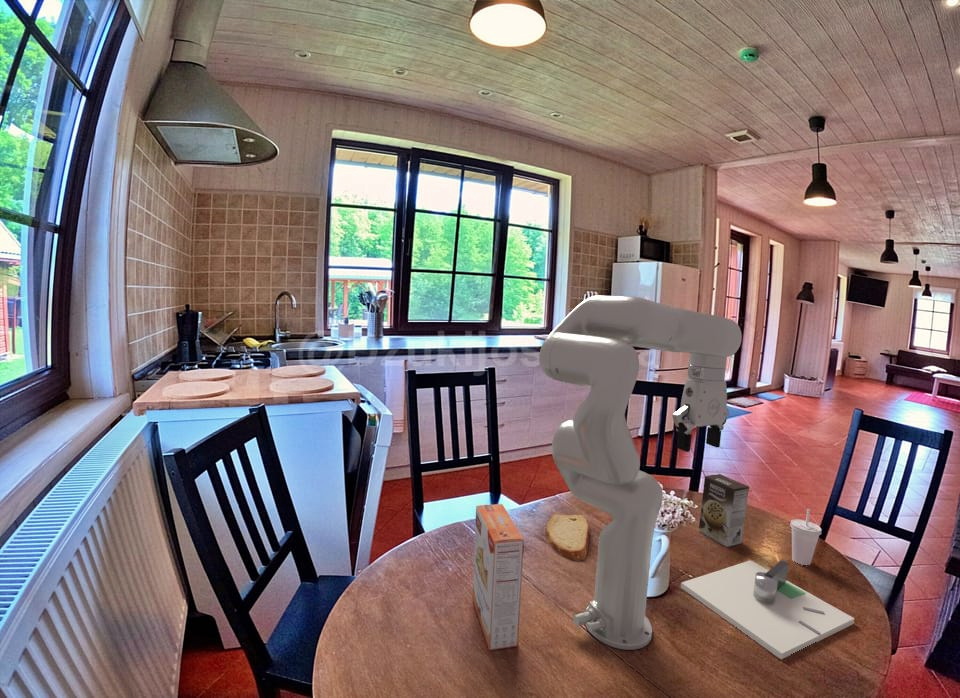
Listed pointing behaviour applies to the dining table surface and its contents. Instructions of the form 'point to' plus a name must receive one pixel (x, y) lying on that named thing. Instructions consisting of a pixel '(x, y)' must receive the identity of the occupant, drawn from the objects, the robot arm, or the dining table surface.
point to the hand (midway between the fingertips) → (698, 447)
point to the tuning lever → (770, 582)
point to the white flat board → (767, 609)
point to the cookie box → (723, 509)
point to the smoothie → (804, 540)
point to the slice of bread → (568, 535)
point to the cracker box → (497, 576)
